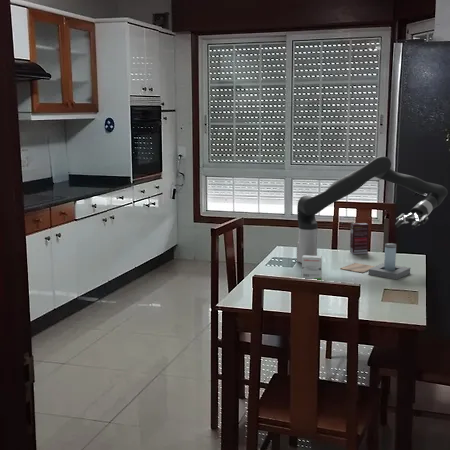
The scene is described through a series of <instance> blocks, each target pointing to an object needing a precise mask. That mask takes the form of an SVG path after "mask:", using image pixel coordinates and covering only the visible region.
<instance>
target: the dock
mask: <svg viewBox="0 0 450 450" xmlns="http://www.w3.org/2000/svg"><path fill="white" fill-rule="evenodd" d="M374 266H375V265H374ZM409 274H411V267H406V266H400V265H395V271H389V270H384V263H380V264H378V265H376V266H375V267H373V268H370V269H369V271H368V275H370V276H377V277H381V278H386V279H393V280H399V279H401V278H403V277H405V276H408V275H409Z"/></svg>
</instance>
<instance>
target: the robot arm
mask: <svg viewBox="0 0 450 450" xmlns="http://www.w3.org/2000/svg"><path fill="white" fill-rule="evenodd" d="M391 168H392V161H391V159H390V158H389V157H387V156H384V155H381V156H377V157H375V158H374V159H372V160H371V161H369V162H368V163H367V164H365V165H364V166H362V167H360V168H358V169H355V170H354V171H352V172H350V173H348V174H346V175H344V176H342V177H340V178H339V179H336V180H335V181H334V182H332V184H330V186H328V188H327V189H325V190H324V191H323V192H321V193H319V194H317V195H314V196H311V195H302V196H301V197H300V198H299V199H298V201H297V208H296V210H297V211H296V212H297V213H296V214H297V215H296V216H297V222H298V242H297V243H296V262H298V263H301V264H302V257H303V255H309V256H318V221H317V219H316V215H317V214H318V213H320V212H321V211H322V210H324V209H326V208H327V207H329V206H330V205H332V204H334V203H335V202H338V201H339V200H341V199H344V198H345V197H348V196H349V195H351V194H352V193H355V192H356V191H357V190H359V189H360V188H362V187H363V186H364V185H365V184H367V182H369V181H370V180H371V179H373V178H377V179H380V180H383V181H385V182H386V181H387V182H389V183H392V184H395V185H398V186H400V187H403V188H405V189H407V190H409V191H411V192H413V193H415V194H418V195H420V196H424V195H426V193H429V195H427V196H426V197H424V198H423V199H422V200H420V201H419V202H418V203H417V204H415V205H414V206H413V207H412V208H411V209H410V210H409V213H407V214H405V213H401V214H400V215H399V216H398V217H396V218H395V220H396V222H395V224H394V226H395V228H399V227H400V226H402V225H403V224H409V223H411V228H412V229H416V228H417V227H418V226H420V225H422V226H423V225H425V224H426V223H427V221H429V217H428V216H429V215H430V214H431V212H432V211H433V210H434V209H435V208H437V207H439V206H440V205H441V204H442V203H443V201H444V200H445V198H447V196H448V192H449V191H448V189H447V188H446V187H445V185H444V186H443V185H441V184H437V183H433V182H428V181H425V180H423V179H421V178H419V177H417V176H414V175H409V174H405V173H401V172H398V171H395V170H394V169H391Z"/></svg>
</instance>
